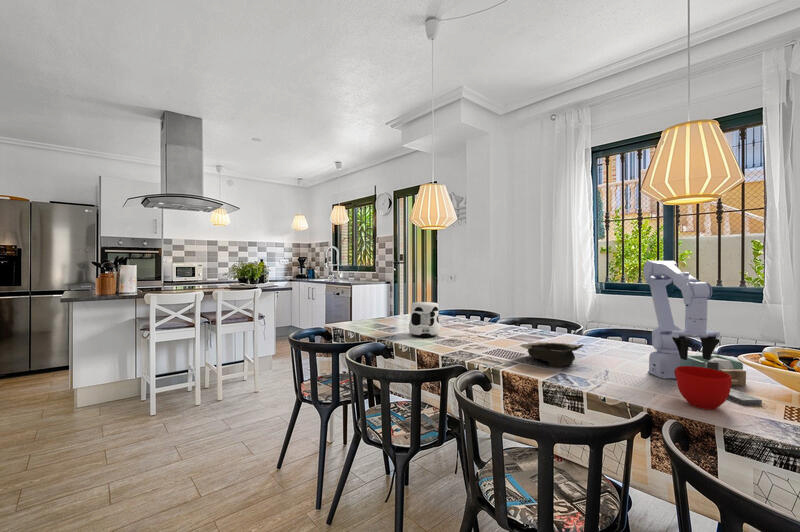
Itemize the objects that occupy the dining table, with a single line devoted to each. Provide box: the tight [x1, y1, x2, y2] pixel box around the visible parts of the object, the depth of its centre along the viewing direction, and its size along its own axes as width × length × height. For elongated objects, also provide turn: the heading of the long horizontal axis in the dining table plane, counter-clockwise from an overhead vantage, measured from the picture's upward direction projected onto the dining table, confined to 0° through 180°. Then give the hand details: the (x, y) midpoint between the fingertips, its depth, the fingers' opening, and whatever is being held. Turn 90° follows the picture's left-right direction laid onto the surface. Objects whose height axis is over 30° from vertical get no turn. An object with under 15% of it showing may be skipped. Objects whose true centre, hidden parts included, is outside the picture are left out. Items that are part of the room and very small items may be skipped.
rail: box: [726, 387, 763, 406], centre depth 123 cm, size 6×18×2 cm, turn 1°
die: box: [705, 357, 734, 371], centre depth 137 cm, size 8×9×10 cm
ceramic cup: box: [675, 366, 732, 411], centre depth 115 cm, size 13×17×10 cm
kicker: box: [707, 361, 747, 387], centre depth 129 cm, size 16×7×9 cm, turn 91°
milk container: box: [408, 301, 441, 338], centre depth 213 cm, size 17×17×18 cm
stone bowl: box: [519, 342, 584, 368], centre depth 161 cm, size 25×25×9 cm
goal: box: [681, 354, 744, 370], centre depth 140 cm, size 15×10×7 cm, turn 91°
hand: (694, 359), depth 126 cm, fingers open, 7 cm apart
